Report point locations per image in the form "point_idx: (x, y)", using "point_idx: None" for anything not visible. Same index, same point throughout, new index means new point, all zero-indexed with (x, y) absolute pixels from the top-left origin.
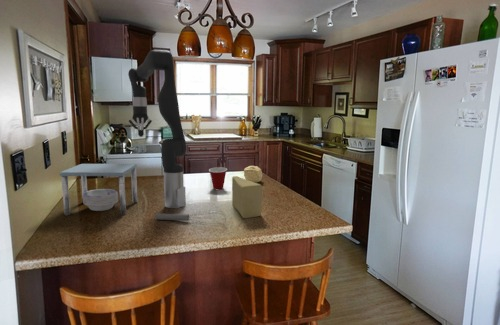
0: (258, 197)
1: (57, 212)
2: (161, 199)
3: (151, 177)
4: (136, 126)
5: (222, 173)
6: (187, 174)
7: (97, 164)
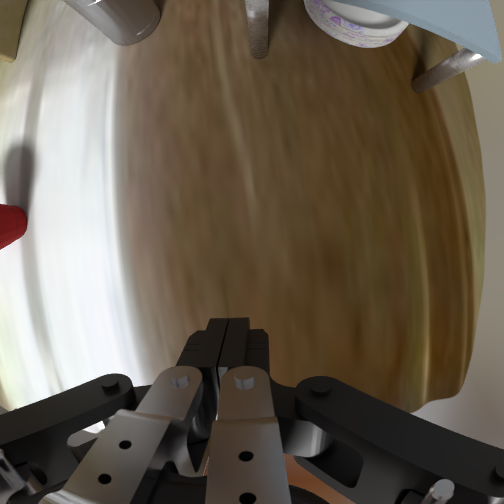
0: None
1: None
2: (170, 80)
3: None
4: (307, 462)
5: None
6: None
7: (437, 12)
